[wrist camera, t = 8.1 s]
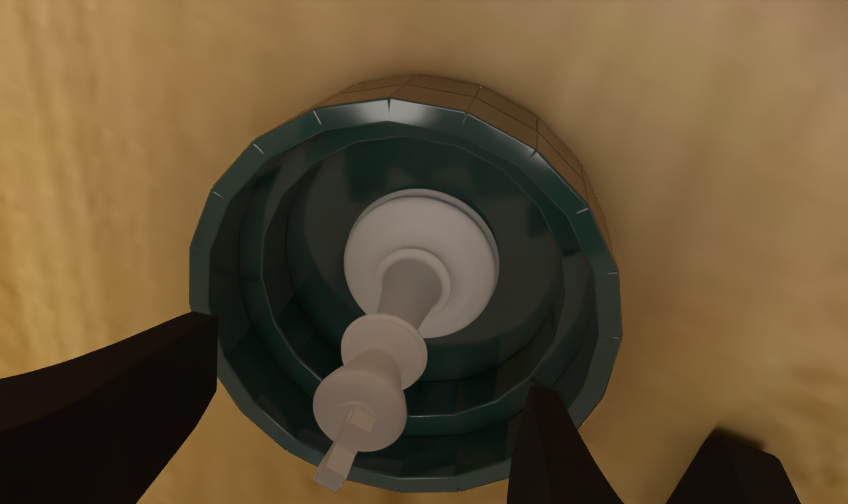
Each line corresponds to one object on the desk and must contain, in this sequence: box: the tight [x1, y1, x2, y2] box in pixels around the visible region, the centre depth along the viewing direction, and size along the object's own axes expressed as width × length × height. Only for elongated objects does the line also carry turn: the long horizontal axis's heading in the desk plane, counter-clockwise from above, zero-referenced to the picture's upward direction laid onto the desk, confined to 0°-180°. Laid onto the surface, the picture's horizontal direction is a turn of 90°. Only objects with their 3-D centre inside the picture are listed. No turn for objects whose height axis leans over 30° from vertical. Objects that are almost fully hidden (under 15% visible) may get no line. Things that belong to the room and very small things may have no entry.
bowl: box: [189, 75, 623, 493], centre depth 20 cm, size 12×12×4 cm
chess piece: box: [313, 189, 499, 493], centre depth 17 cm, size 5×5×10 cm
